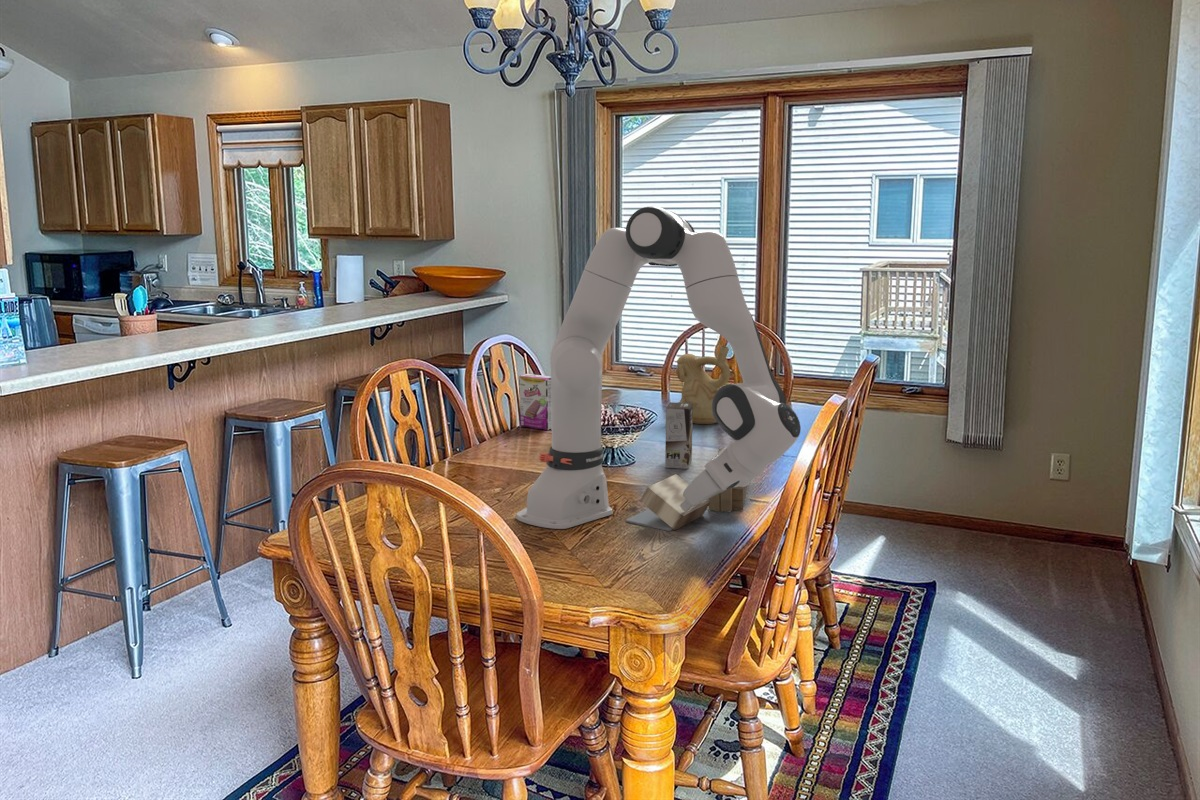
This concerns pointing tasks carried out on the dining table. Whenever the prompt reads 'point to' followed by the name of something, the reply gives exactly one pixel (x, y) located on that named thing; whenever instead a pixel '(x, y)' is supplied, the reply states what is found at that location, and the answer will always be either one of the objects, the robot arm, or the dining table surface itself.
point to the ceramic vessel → (701, 383)
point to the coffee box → (678, 435)
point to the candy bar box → (535, 401)
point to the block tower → (728, 498)
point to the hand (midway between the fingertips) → (694, 502)
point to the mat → (649, 520)
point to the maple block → (671, 502)
